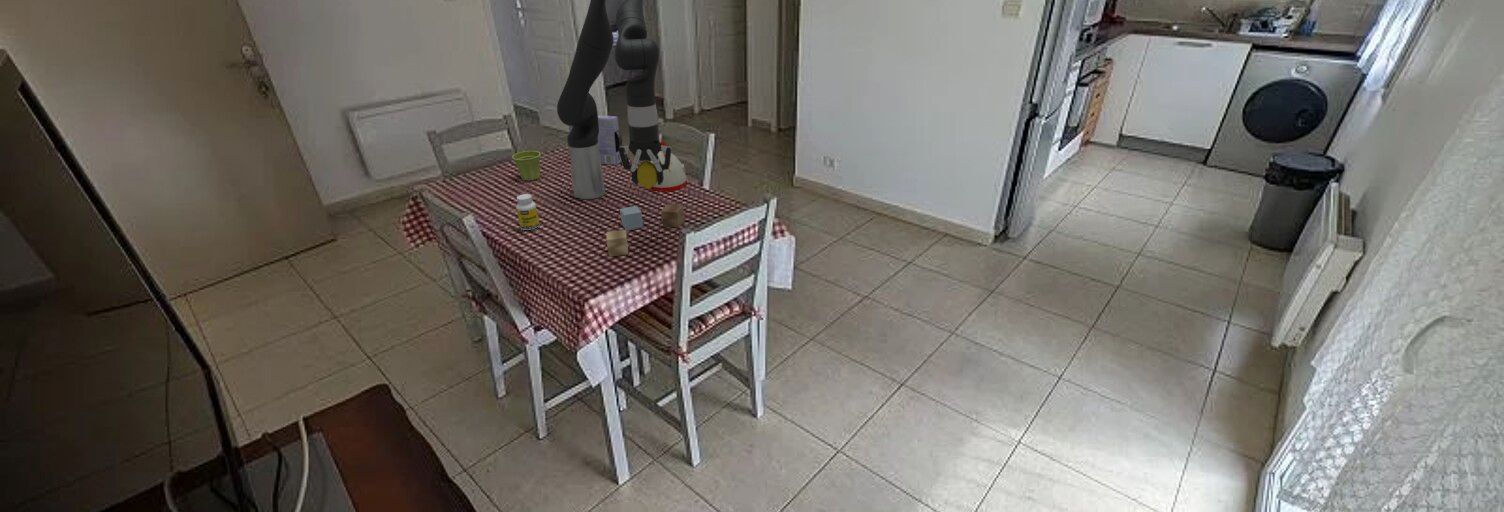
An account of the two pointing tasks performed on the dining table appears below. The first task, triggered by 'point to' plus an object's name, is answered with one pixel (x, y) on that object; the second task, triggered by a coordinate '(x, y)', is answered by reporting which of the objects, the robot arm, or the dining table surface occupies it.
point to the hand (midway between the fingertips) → (648, 183)
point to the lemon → (647, 174)
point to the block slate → (631, 218)
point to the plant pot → (528, 164)
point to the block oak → (617, 243)
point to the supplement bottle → (527, 212)
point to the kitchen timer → (671, 174)
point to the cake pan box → (608, 140)
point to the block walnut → (672, 216)
